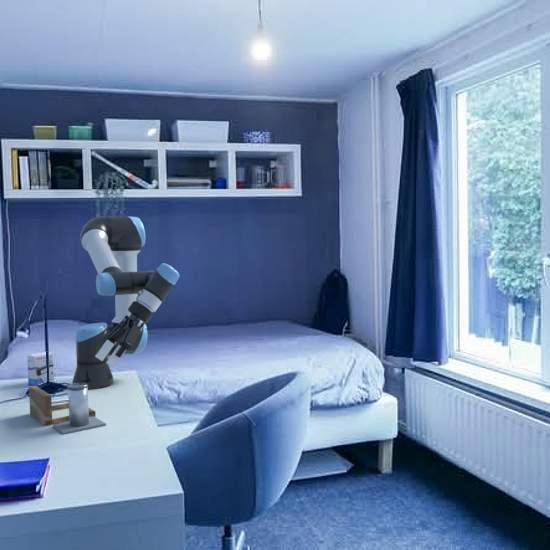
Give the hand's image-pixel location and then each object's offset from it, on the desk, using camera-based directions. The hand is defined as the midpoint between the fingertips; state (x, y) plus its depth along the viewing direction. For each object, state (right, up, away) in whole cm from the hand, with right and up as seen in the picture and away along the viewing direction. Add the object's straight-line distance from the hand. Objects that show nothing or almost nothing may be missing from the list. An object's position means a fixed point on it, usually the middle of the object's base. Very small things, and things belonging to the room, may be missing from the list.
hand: (104, 362), depth 192 cm
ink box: (-38, -15, +48) cm, 63 cm away
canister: (-6, -18, -7) cm, 20 cm away
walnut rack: (-15, -18, +5) cm, 24 cm away
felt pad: (-6, -18, -7) cm, 20 cm away
